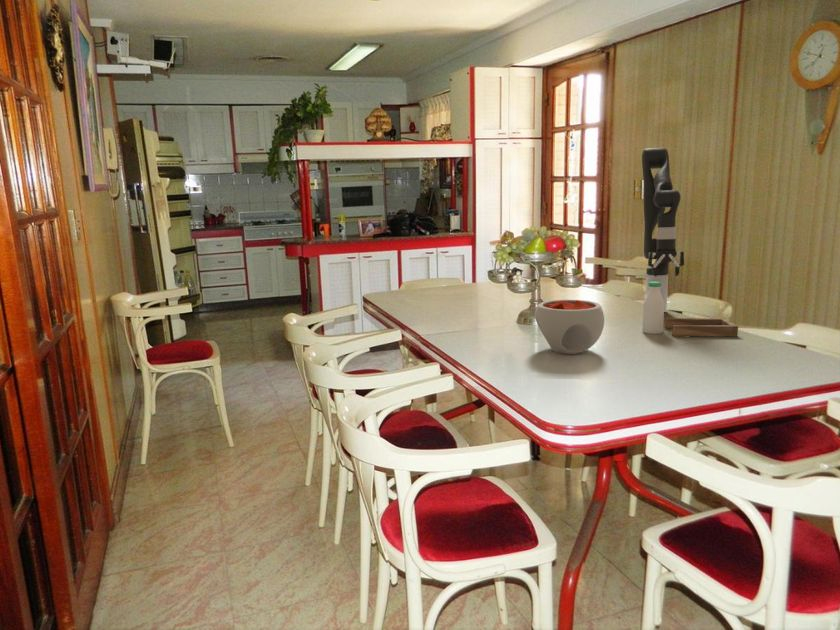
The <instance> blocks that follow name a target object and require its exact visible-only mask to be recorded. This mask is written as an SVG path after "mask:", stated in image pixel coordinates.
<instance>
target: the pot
mask: <svg viewBox="0 0 840 630" xmlns="http://www.w3.org/2000/svg"><path fill="white" fill-rule="evenodd" d="M534 318H535V321H536V324H537V327H538V328H539V331H540V332H541V334H542V335H543V336H544V339H545V340H546V342H547V344H548V345H549V347H550V348H551V350H552V351H554V352H556V353H558V354H562V355H564V354H565V355H576V354H577V355H578V354H581V353H583V352H586V351H587V350H589V349H591V348H592V347H593V346H594V345H595V344H596V343H597V342H598V341H599V340H600V337H601V336H602V333H603V330H604V327H605V314H604V310H603V308H602V305H601V304H600V303H598V302H595V301H590V300H583V299H554V300H546V301H543V302H540V303H539V304H537V306H536V309H535V312H534Z"/></svg>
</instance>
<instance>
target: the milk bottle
mask: <svg viewBox="0 0 840 630" xmlns="http://www.w3.org/2000/svg"><path fill="white" fill-rule="evenodd" d="M648 288H649V291H648V294H647V296H646V295H645V298H644V300H643V308H642V309H643V310H642V327H641V328H642V332H643V333H644V334H648V335H659V334H660V335H661V334H663V333H664V320H665V313H664V300H663V297H662V295H661V292H660V288H661V282H649V283H648Z"/></svg>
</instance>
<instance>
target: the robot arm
mask: <svg viewBox="0 0 840 630" xmlns="http://www.w3.org/2000/svg"><path fill="white" fill-rule="evenodd" d="M669 157H670V156H669V151H668V149H667V148H666V147H650V148H649V147H648V148H645V149H643V150H642V153H641V166H642V167H641V168H642V178H643V218H644V219H643V221H644V235H643V256H644V258H645V259H646V260H648V261H647V262H648V263H647V266H648V267H646V271H645V272H646V277H645V297H646V296H647V294H648V291H649V288H648V283H649V282H661V288H660V292H661V295H662V297H663V300H664V312H665V313H667V305H668V289H669V288H668V285H669V283H668V282H669V267H670V266H669V265H670V262H672V264H673V265H674V266H675V267H674V276H675V277H678V276H679V275H680V267H683V266H684V265H685V255H684V253H685V252H684V251H681V250H680V251H677V249H676V245H677V240H676V239H677V231H676V217H677V212H678V208H679V206H680V202H681V193H680V192H679V190H677V189H673V188H674V187H673V186H674V185H673V183H672V179H671V172H670V171H671V170H670V169H671V168H670V158H669ZM653 169H658V171H657V172H656V174H655V176H653V173H652V170H653ZM666 208H670V209H669V210H668V211H667V212H665V211H666ZM656 226H657V230H656V238H653V233H654V231H655V228H656ZM677 256H678V258H679V263H678V261H677V260H676V259H675V257H677ZM653 260H655V261H654V263H653Z"/></svg>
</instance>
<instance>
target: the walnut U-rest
mask: <svg viewBox="0 0 840 630" xmlns="http://www.w3.org/2000/svg"><path fill="white" fill-rule="evenodd" d="M663 329H664V330H671V332H672V333H671V336H672V337H673V336H674V337H675V338H682V336H684V337H685V336H737V337H738V336H739V334H738V333H739V325H736V324H735V323H733V322H732V321H730V320H728V319H727V318H725V317H724V318H723V317H722V318H721V317H717V318H715V317H709V318H707V317H705V318H703V317H701V318H699V317H698V318H695V317H694V318H693V317H692V318H691V317H687V318H686V317H685V318H684V317H683V318H681V317H680V318H679V317H677V318H674V317H673V318H668V317H667V318H665V317H664V325H663ZM679 336H681V337H679ZM684 337H683V338H684Z"/></svg>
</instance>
